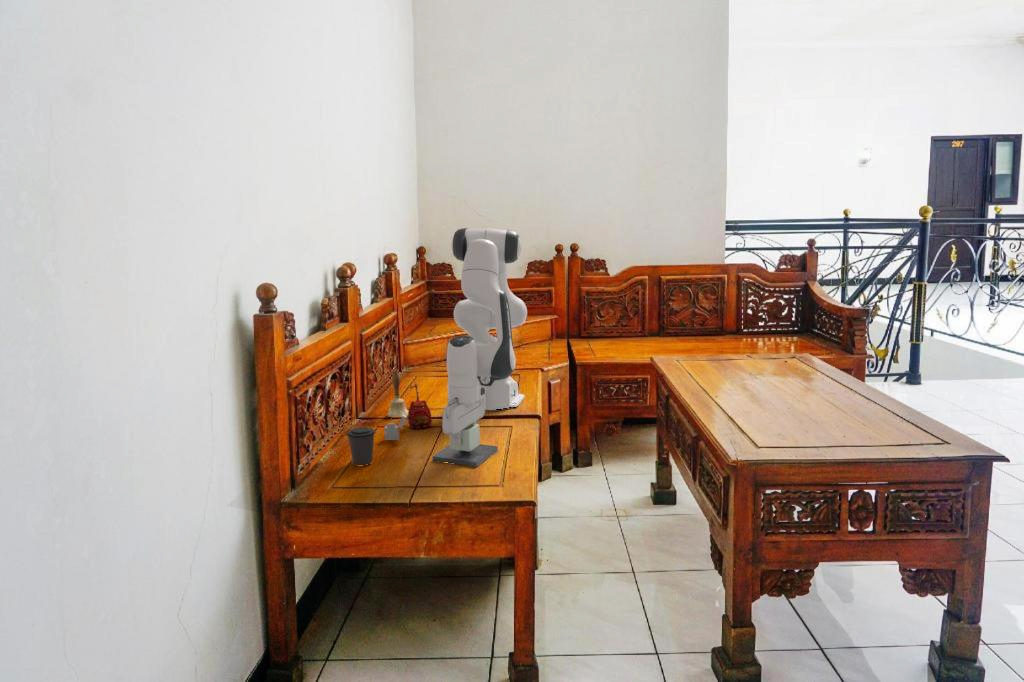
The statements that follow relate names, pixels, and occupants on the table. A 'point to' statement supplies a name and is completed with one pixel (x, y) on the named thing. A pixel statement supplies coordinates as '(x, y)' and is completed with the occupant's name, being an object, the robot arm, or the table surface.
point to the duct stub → (465, 455)
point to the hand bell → (397, 399)
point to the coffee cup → (361, 445)
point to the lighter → (394, 429)
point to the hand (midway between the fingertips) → (465, 440)
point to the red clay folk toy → (419, 413)
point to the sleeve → (467, 438)
